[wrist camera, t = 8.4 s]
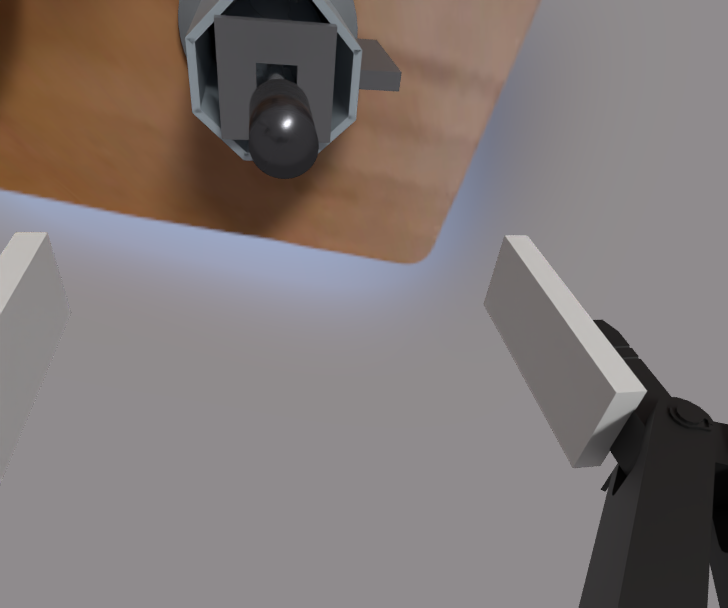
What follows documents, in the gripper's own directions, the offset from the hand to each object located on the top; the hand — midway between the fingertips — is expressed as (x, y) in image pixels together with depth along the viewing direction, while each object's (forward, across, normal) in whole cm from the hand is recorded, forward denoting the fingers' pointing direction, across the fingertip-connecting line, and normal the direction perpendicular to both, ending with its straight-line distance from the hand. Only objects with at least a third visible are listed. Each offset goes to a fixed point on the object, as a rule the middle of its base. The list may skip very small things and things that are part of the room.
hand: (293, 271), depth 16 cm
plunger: (+31, 0, 0) cm, 31 cm away
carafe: (+34, +2, 0) cm, 34 cm away
